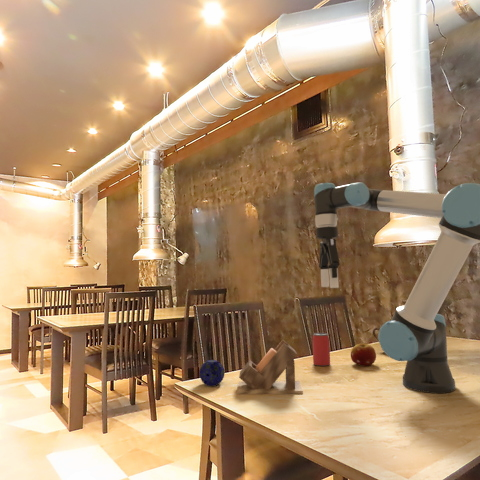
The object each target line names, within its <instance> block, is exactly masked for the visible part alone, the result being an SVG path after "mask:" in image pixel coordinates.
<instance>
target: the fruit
mask: <svg viewBox="0 0 480 480" xmlns="http://www.w3.org/2000/svg"><path fill="white" fill-rule="evenodd" d="M350 358H351V361H352V362H353V363H354V364H356V365H358V366H361V367H369V366H372V365H374V363H375V362H376V360H377V359H376V358H377V353H376V350H375V348H374V347H373V346H372V345H370V344H368V343H358V344H355V345H354V346H353V347H352V348H351V351H350Z"/></svg>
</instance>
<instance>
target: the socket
mask: <svg viewBox="0 0 480 480" xmlns="http://www.w3.org/2000/svg"><path fill="white" fill-rule="evenodd" d="M274 350H275V351H277V352H276V354H275V355H274V356H273V357H272V359H271V360H270V361H269V362H268V364H267V365H266V366H265V367H264V369H263V370H262V371H261V372H260V373H259V372H258V371H257V370H256V369H255V368H256V366H257V365H258V364H255V363H254V362H253V361H252V360H251V359H249V360H248V361H247V362H246V363H245V365H244V366H243V367H242V369H241V370H240V371H239V376H238V377H239V379H240V380H241V381H238V382H237V383H238V384H237V390H236V394H237V395H275V394H276V395H281V394H282V395H285V394H286V395H293V394H295V395H297V394H298V395H299V394H300V395H303V394H304V390H303V387H302V385H301V383H300V381H299V380H296V371H295V366H296V365H295V357H297V355H298V353H297V350H295V349H294V348H293V347H292V346H291V345H290V344H288V343H287V342H286V341H285V340H284V339H281V341H280V342H279V343H278V344H277V346H276V347H274ZM283 372H285V381H284V380H282V381H281V380H278V378H279V377H280V376H281V375H282V374H283ZM277 380H278V381H277Z"/></svg>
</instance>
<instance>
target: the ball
mask: <svg viewBox="0 0 480 480" xmlns="http://www.w3.org/2000/svg"><path fill="white" fill-rule="evenodd" d="M199 378H200V380H201V382H202V383H203V384H205V385H206V386H208V387H214V386H217V385H219V384H221V383H223V382H222V381H223V380H224V378H225V369H224V366H223V364H222V363H221V362H220V361H218V360H217V359H216V360H215V359H209V360H208V359H207V360H206V361H205V362H203V364H202V365H201V367H200V368H199Z"/></svg>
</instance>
